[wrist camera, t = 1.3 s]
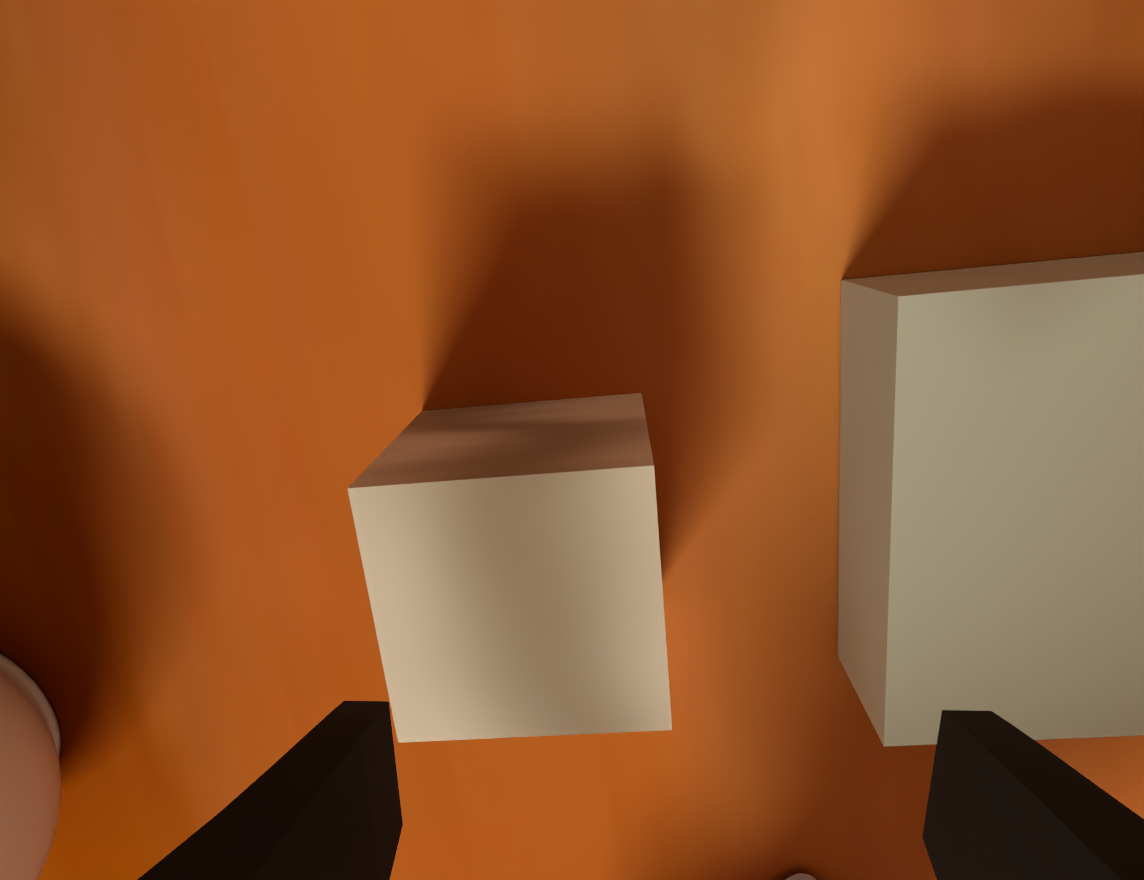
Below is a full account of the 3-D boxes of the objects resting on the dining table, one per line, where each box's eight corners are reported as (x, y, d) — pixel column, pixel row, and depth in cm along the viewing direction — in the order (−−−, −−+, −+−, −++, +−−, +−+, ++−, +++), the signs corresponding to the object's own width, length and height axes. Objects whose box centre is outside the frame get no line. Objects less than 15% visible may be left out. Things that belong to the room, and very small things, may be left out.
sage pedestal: (837, 655, 20) (883, 746, 16) (841, 279, 17) (898, 296, 13) (1232, 635, 19) (1365, 725, 16) (1308, 236, 16) (1491, 242, 13)
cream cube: (454, 603, 20) (398, 742, 15) (422, 410, 18) (347, 487, 13) (655, 591, 20) (672, 730, 14) (641, 392, 18) (654, 465, 13)
